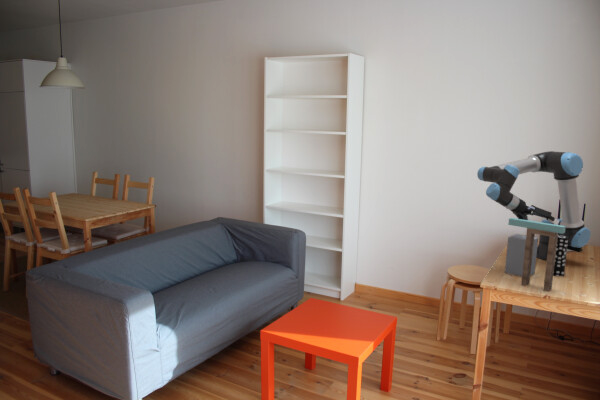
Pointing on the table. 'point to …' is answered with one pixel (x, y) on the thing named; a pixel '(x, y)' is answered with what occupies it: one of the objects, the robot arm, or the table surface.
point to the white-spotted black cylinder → (560, 255)
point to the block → (518, 254)
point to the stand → (550, 257)
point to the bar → (537, 225)
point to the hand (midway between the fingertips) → (547, 224)
